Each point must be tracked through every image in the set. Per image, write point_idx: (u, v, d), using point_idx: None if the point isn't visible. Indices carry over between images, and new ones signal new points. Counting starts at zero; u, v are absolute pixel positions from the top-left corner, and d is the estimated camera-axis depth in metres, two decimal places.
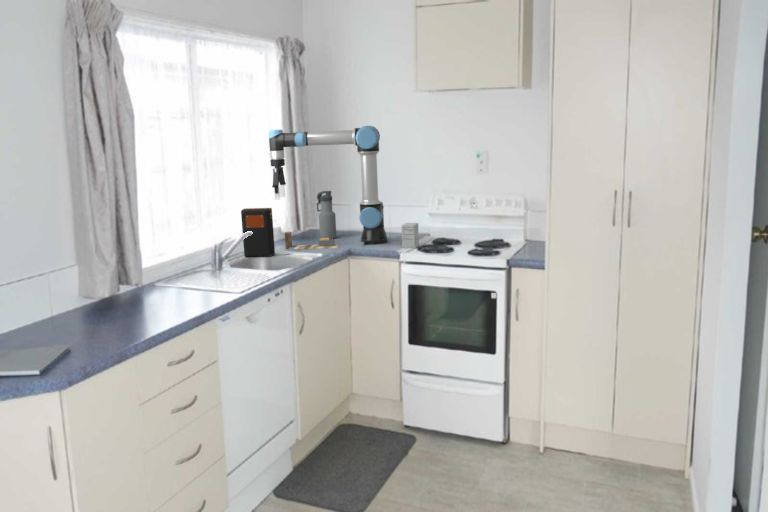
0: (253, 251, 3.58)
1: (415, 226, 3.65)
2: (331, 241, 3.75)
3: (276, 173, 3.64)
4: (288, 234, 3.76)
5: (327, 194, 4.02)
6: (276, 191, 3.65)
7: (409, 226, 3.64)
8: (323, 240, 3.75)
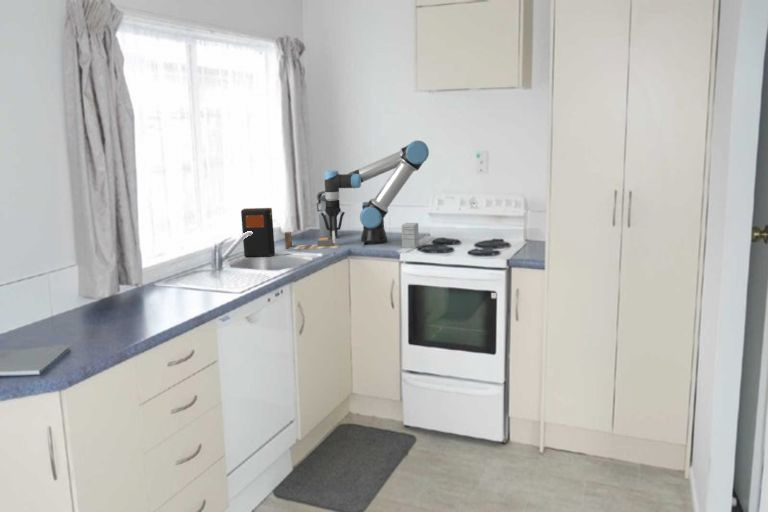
0: (253, 251, 3.58)
1: (415, 226, 3.65)
2: (330, 241, 3.75)
3: None
4: (288, 234, 3.76)
5: None
6: (330, 234, 3.76)
7: (409, 226, 3.64)
8: (322, 240, 3.75)
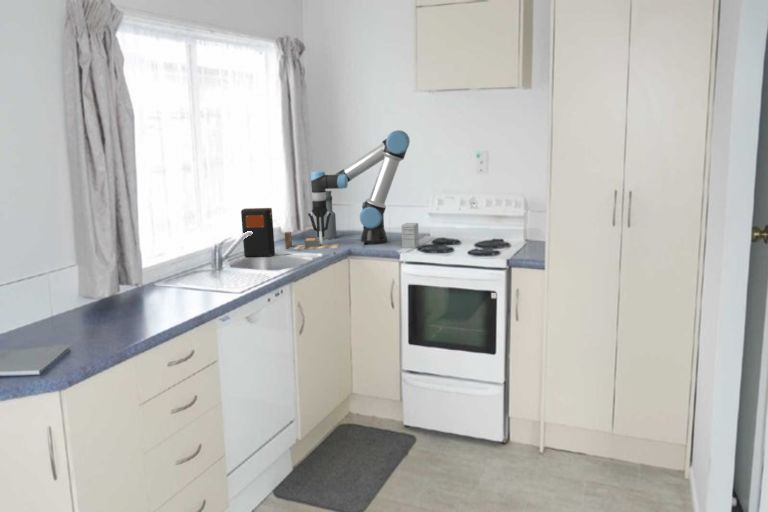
0: (253, 251, 3.58)
1: (415, 226, 3.65)
2: (317, 241, 3.75)
3: None
4: (288, 234, 3.76)
5: (327, 194, 4.02)
6: (317, 235, 3.76)
7: (409, 226, 3.64)
8: (309, 240, 3.76)
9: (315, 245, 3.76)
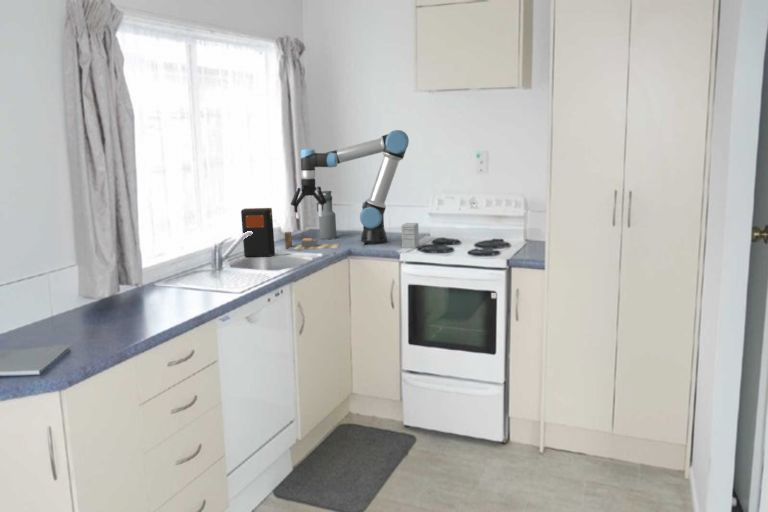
0: (253, 251, 3.58)
1: (415, 226, 3.65)
2: (314, 241, 3.75)
3: (296, 192, 3.68)
4: (288, 234, 3.76)
5: (327, 194, 4.02)
6: (295, 210, 3.69)
7: (409, 226, 3.64)
8: (306, 240, 3.76)
9: (312, 245, 3.76)
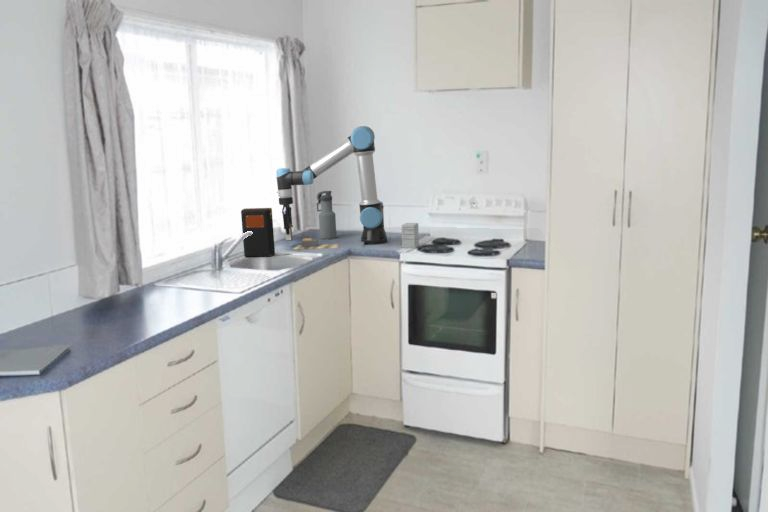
0: (253, 251, 3.58)
1: (415, 226, 3.65)
2: (314, 241, 3.75)
3: (285, 215, 3.69)
4: None
5: (327, 194, 4.02)
6: (287, 232, 3.73)
7: (409, 226, 3.64)
8: (306, 240, 3.76)
9: (312, 245, 3.76)
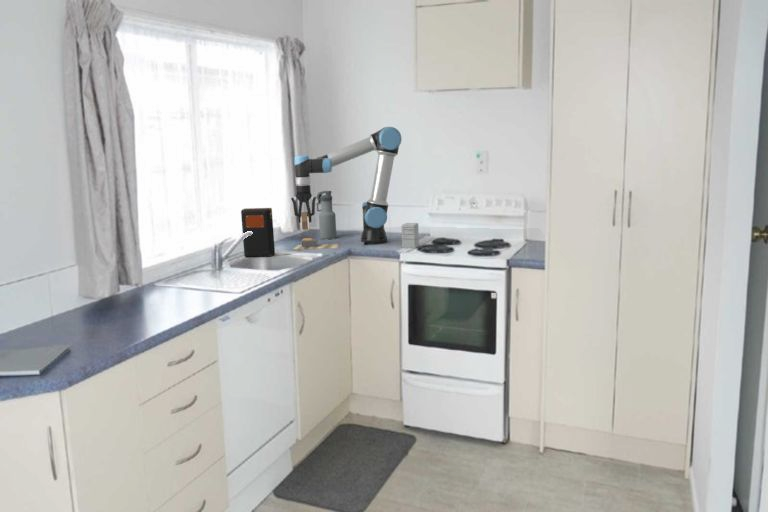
0: (253, 251, 3.58)
1: (415, 226, 3.65)
2: (314, 241, 3.75)
3: None
4: None
5: (327, 194, 4.02)
6: None
7: (409, 226, 3.64)
8: (306, 240, 3.76)
9: (312, 245, 3.76)
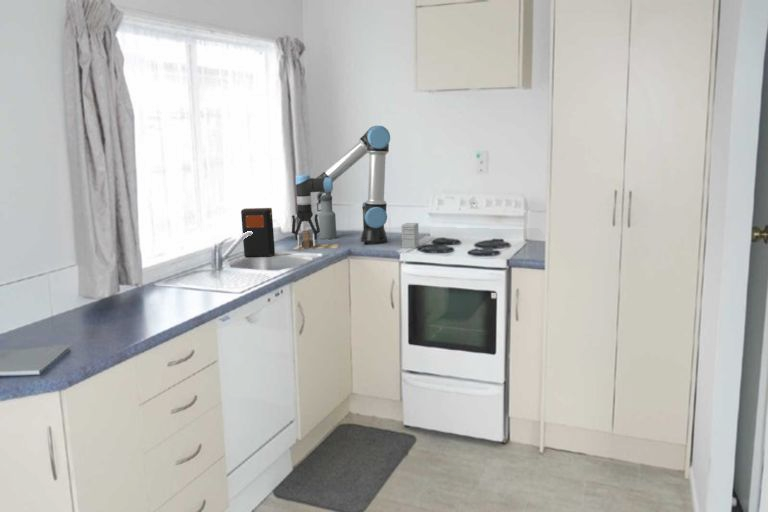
0: (253, 251, 3.58)
1: (415, 226, 3.65)
2: None
3: None
4: None
5: (327, 194, 4.02)
6: None
7: (409, 226, 3.64)
8: None
9: (312, 245, 3.76)
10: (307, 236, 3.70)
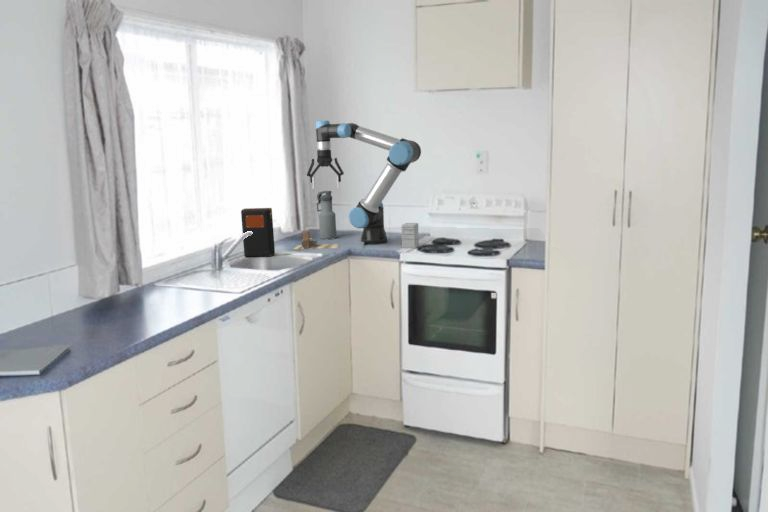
0: (253, 251, 3.58)
1: (415, 226, 3.65)
2: (314, 241, 3.75)
3: None
4: None
5: (327, 194, 4.02)
6: None
7: (409, 226, 3.64)
8: None
9: (312, 245, 3.76)
10: (307, 236, 3.70)
